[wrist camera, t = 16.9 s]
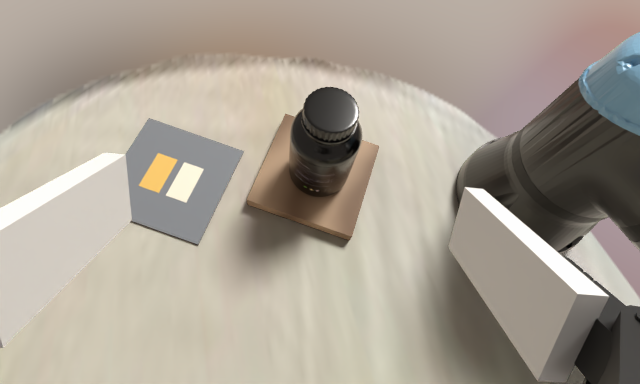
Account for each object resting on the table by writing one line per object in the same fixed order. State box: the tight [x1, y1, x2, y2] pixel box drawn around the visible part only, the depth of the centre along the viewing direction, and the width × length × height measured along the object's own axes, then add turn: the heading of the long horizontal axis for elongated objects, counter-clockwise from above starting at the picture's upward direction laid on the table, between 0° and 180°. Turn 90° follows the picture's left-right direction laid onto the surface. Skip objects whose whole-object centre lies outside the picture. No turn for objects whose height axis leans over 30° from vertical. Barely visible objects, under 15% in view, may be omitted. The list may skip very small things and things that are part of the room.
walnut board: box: [247, 114, 379, 240], centre depth 42 cm, size 12×12×2 cm
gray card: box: [125, 118, 244, 245], centre depth 41 cm, size 12×12×1 cm
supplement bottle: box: [289, 87, 362, 197], centre depth 36 cm, size 7×7×12 cm
